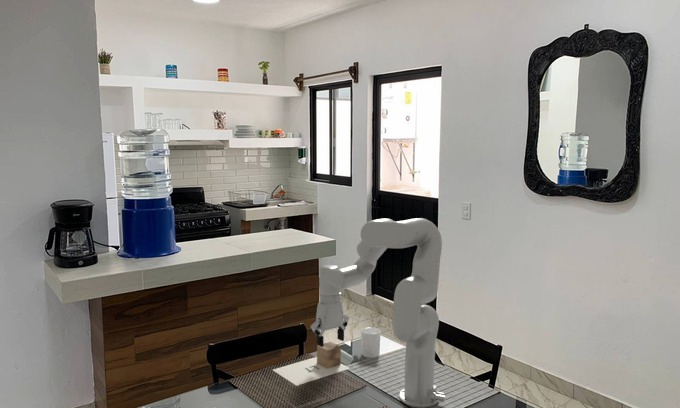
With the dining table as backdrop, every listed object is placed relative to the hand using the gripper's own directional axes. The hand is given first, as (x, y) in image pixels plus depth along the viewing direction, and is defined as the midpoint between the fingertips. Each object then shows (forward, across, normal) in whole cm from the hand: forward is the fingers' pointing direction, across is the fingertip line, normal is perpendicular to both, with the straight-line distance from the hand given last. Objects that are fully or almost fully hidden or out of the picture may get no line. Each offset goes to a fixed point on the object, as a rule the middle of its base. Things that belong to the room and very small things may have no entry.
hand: (330, 342), depth 198 cm
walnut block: (+8, 0, -1) cm, 8 cm away
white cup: (+10, -19, 0) cm, 22 cm away
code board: (+9, +8, -1) cm, 12 cm away
